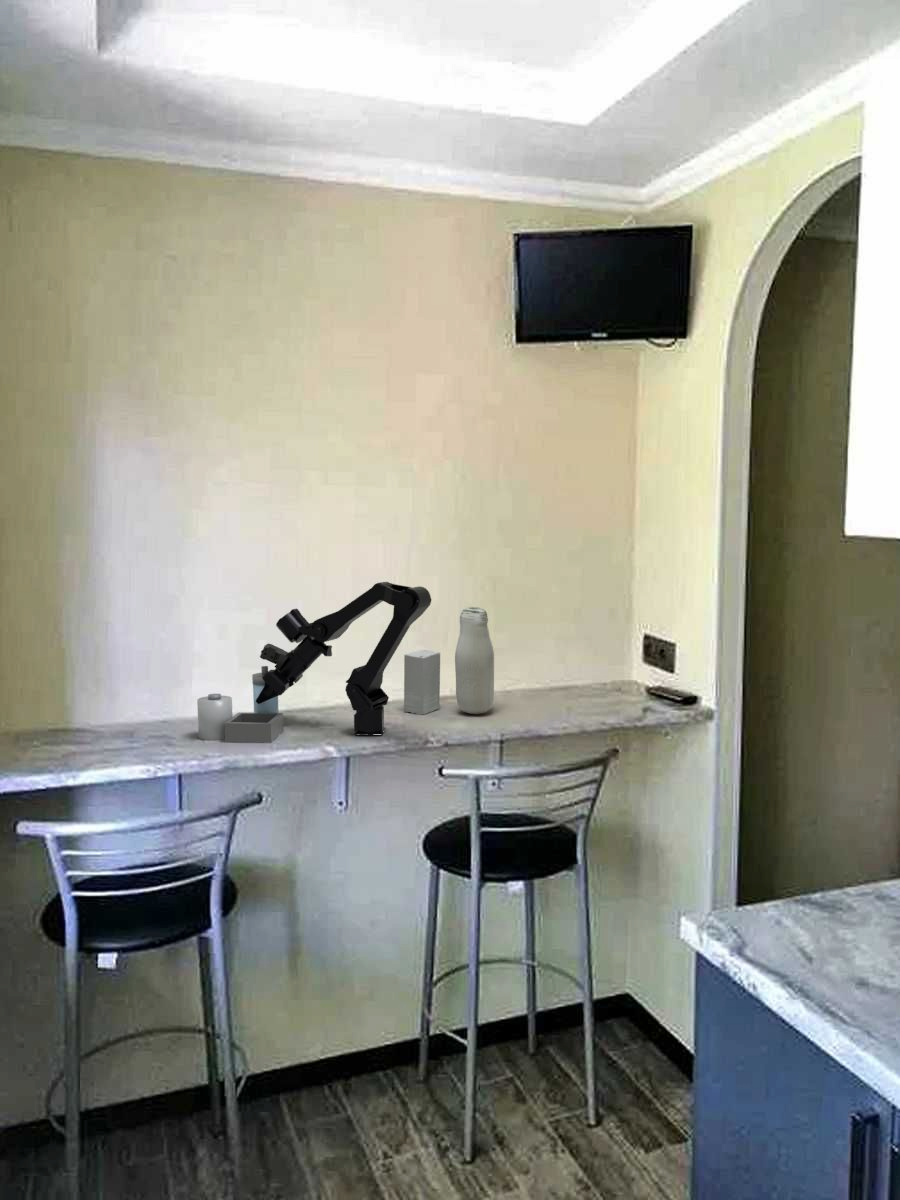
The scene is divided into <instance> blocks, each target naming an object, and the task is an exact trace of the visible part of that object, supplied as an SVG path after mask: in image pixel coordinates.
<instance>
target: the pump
mask: <svg viewBox="0 0 900 1200" xmlns="http://www.w3.org/2000/svg"><path fill="white" fill-rule="evenodd" d="M260 667H261V672H257V673H253V674H252V675H251V677H252V679H251V680H252V692H253V695H252V698H253V699H252V700H253V713H280V712H279V696H277V697H274V698H272V699H269V700H267V701H265V702H262V703H260V704H258V703H257V702H256V699H257V698H258V696H259V694H260V693H261V691H262V689H263V688H264V686H265V681H264V680H263V679H262V677H263V676H264V675H265V674H266V673H267V672H268V671H269V666H268V665H262V666H260Z"/></svg>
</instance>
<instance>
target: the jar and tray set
mask: <svg viewBox="0 0 900 1200" xmlns="http://www.w3.org/2000/svg"><path fill="white" fill-rule="evenodd" d="M197 725H198V726H197V729H198V733H197V734H198V739H200V740H202V739H204V740H203V741H220V739H222V740H224V742H225V743H248V742H272V741H273V740H274V739H275V738H276V737H277V736H278V735H279V734H280V735H281V734H282V733H283V732H284V713H282V712H279V713H254V712H238V713H236V714H234V715H233V697H232V696H228V695H222V694H221V693H210V694H208V695H207V696H202V697H199V698H198V699H197ZM280 735H279V736H280ZM279 736H278V737H279ZM278 737H277V738H278ZM277 738H276V739H277ZM276 739H275V740H276ZM275 740H274V741H275ZM274 741H273V742H274ZM273 742H272V743H273Z"/></svg>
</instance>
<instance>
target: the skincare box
mask: <svg viewBox="0 0 900 1200" xmlns="http://www.w3.org/2000/svg"><path fill="white" fill-rule="evenodd" d="M403 659H404V660H403V661H404V662H403V663H404V665H403V666H404V672H403V673H404V674H403V675H404V678H403V679H404V680H403V681H404V682H403V686H404V687H403V691H404V692H403V702H404V703H403V711H405V712H404V713H408V712H411V713H410V714H414V713H416V714H415V715H420V714H424V715H426V714H429V713H432V712H434V711H436V710H440V698H441V696H440V695H441V693H440V692H441V691H440V690H441V687H440V686H441V652H439V651H434V650H430V649H429V650H427V649H419V650H416V651H413V652H409V653H406V654H404V658H403Z"/></svg>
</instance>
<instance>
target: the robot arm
mask: <svg viewBox="0 0 900 1200" xmlns="http://www.w3.org/2000/svg"><path fill="white" fill-rule="evenodd" d="M382 602H385V603H387V604H389V605H390V606H393V614H392V618H391V621H390V622H389V624H388V625H387V627H386V629H385V630H384V633H383V634H382V636H381V637H380V639H379V641H378V643H377V645H376V646H375V648H374V650H373V651H372V653H371V655H370V657H369V659H368V660H367V662H366V663H365V664H364V665H361V666H357V667H355V668H353V669H352V671H351V674H350V676H349V678H348V679H347V680H345V683H346V685H345V692H346V696H347V698H348V699H349V702H350V705H351V708H352V711H355V713H354V714H353V724H354V726H353V728H354V729H353V731H354V732H355V733H354V735H355V734H368V735H367V736H374V735H373V734H382V733H383V731H384V730H385V731H386V727H385V707H384V706H387V704H388V701H389V698H390V697H389V695H387V693H386V692H385V691H384V690H383V689H382V684H383V680H384V679H383V678H384V677H383V676H384V671H385V670H386V668H387V666H389V665H388V664H389V663H390V661H391V660H392V658H393V656H394V654H395V653H396V651H397V650H398V647H399V646H400V644H401V643H402V640H403V639H404V638H405V635H406V634H407V633H408V630H409V629H410V627H411V626H412V624H413V623H414V622H415V621H417V620H419V618H420V617H421V616H422V615H423V614H424V613H425V612H426V611H427V610H428V608H429V607H430V606H431V603H432V597H431V594H430V591H429V590H428V589H427V588H425V587H423V586H419V585H418V586H414V587H412V586H407V585H401V584H395V583H392V582H389V581H380V582H377V583H375V584H374V585H372V586H371V587H370V588H369V589H368V590H366V591H365V592H363V593H362V594H360V595H359V596H358V597H356V598H355V599H354V600H352V601H351V602H349V603H347V604H346V605H345V606H343V607H342V608H341V609H339V610H337V611H335V612H332V613H329V614H327V615H324V616H322V617H320V618H317V619H316V620H314V621H313V622H310V623H309V621H308V619H306V618H305V616H304V615H302V613H301V611H300V610H299V609H298V608H293V609H291V610H290V611H289V612H287V613H286V614H284V615H283V616H282V617H280V618H279V619H278V620H277V622H276V624H275V626H276V627H277V629H278V630H279V631H280V632H281V634H282V635H284V637H285V638H286V639H287V640H288V641H289V642H290V643H296V644H298V645H296V647H294V648H293V649H291V651H287V650H285V649H284V648H283V649H282V648H280V647H278V646H276V645H274V644H272V643H266V644H264V646H263V648H262V650H261V651H260V655H259V658H260V659H262V660H263V661H264V660H266V661H267V662H270V663H272V664H274V668H275V669H270V670H268V672H267V673H266V674H265V675H264V676H263V677H262V679H263V680H264V681H265V686H264V688H263V689H262V691H261V693H260V694H259V696H258V698H257V699H256V702H257V703H258V704H260V703H262V702H265V701H267V700H269V699H272V698H274V697H277V696H278V697H279V696H282V695H283V694H284V693H285V692H287V690H288V689H289V688H291V687H292V686H294V685H295V684H297V683H298V682H299V681H300V680H301V679H302V678H303V676H304V675H303V673H305V672H306V671H307V670H308V669H309V668H310V667H311V666H312V664H314V662H316V661H317V660H318V658H319V657H320V656H321V655H323V656H324V657H332V656H333V652H332V648H333V646H332V645H327V644H326V642H329V641H333V640H338V639H339V638H340V637H342V635H344V633H345V632H346V631H347V630H348V629H349V627H350V626H351V624H352V623H354V621H356V620H357V619H359V618H360V617H362V616H364V615H365V614H366V613H368V612H369V611H371V610H372V609H374V608H375V607H377V606H378V605H379V604H381V603H382ZM385 731H384V732H385ZM383 734H384V733H383ZM383 734H382V735H383Z"/></svg>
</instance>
